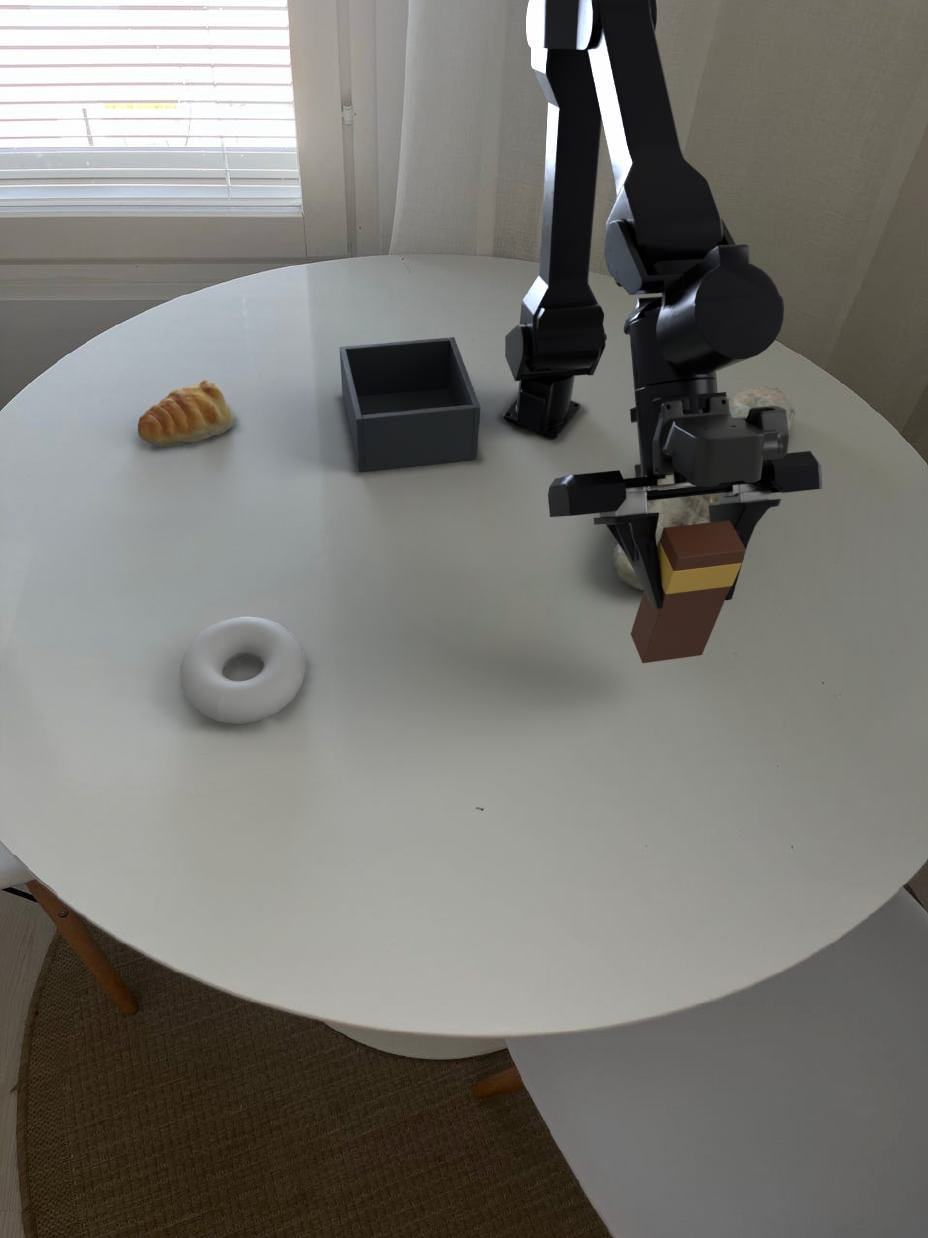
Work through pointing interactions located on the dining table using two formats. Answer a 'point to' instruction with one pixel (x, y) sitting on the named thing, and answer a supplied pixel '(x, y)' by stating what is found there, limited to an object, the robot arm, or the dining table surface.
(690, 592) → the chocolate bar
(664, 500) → the long grey stone
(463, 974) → the dining table surface
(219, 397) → the pastry
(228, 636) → the donut
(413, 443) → the waste bin
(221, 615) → the dining table surface
